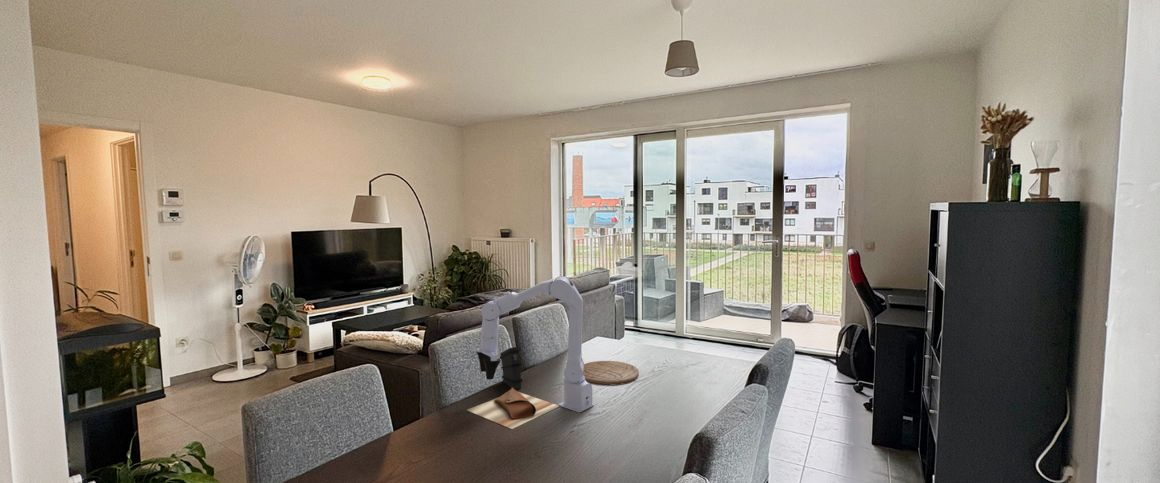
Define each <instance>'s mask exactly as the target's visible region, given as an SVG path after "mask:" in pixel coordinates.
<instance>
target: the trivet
mask: <svg viewBox="0 0 1160 483" xmlns="http://www.w3.org/2000/svg"><path fill="white" fill-rule="evenodd" d="M639 372H640V370H639V369H638V368H637V367H636V366H635V365H633V364H630V363H628V362H627V363H626V362H622V361H617V360H616V361H615V360H596V361H591V362H590V361H589V362H586V363H584V369H583V375H584V377H585V380H586V382H588V383H589V384H595V385H601V386H604V385H605V386H611V385H610V384H617V385H622V384H621V383H625V384H628V383H627V382H629V383H631V381H632V382H633V380H634V381H636V380H637V379H638V378H639V375H640V374H639ZM637 377H638V378H637ZM636 378H637V379H636Z"/></svg>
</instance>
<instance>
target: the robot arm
mask: <svg viewBox="0 0 1160 483" xmlns="http://www.w3.org/2000/svg"><path fill="white" fill-rule="evenodd" d="M540 295H544V296H549V297H550V296H553V298H555V299H558V300H560V301H562V302H564V304H566V305H567V306H568V307H569V308H568V333H567V334H568V336H567V337H568V338H567V339H568V340H567V341H568V342H567V360H566V363H565V368H564V370H563V401H562V402H560V403H558V406H560V407H562V408H565V409H568V410H571V411H573V412H577V413H581V412H583V411H585V410H587V409H589V408H591V407H594V402H593V387H592V383H590V382H586V380H585V377H584V375H583V369H584V364H585V362H584V361H583V353H582V346H583V345H582V342H583V316H584V315H583V313H584V312H583V309H584V307H583V305H584V299H583V297H582V296H581V294H580V292H579V291H578V289H577V287H576V285H575V284H574V282H573V281H572V280H570V279H569V277H567V276H564V275H560V276H557V277H554V278H551V279H547V280H544V281H542V282H540V283H537V284H535V285H533V286H531V287H529V288H527V289H524V290H522V291H521V292H515V291H511V292H510V291H507V292H505V295H501V296H499V297H494V298H493V299H492V300H490V301H488V302H486V303H485V304H484V305H483V306H482V307H481V308H480V309H481V310H480V314H481V316H482V322H481V332H480V333H481V335H480V347H478V348H476V354H477V357H478V360H479V368H480V372H481V373H484V372H485V376H486V377H485V378H486V380H493V379H494V378H495V374H496V371H497V369H498V366H499V365H500V363H501V362H502V360H501V359H500V358H498V351H499V350H498V349H499V348H498V341H499V328H500V315H504V314H506V313H509V312H511V311H514V310H516V309H518V308H519V309H520V307H521V304H522V303H523V302H525V301H527V300H530V299H532V298H535V297H538V296H540Z"/></svg>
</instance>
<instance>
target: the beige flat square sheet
mask: <svg viewBox="0 0 1160 483" xmlns="http://www.w3.org/2000/svg"><path fill="white" fill-rule="evenodd" d="M518 392H519V393H520V394H521V395H522V396H524V397H525V398H526V399H527V400H528V401H529V402H530V403H532V404H533V405H534V406H535V408H536V413H535V414H534V415H533V416H530V417H525V418H517V419H514V418H511V417H510V416H509V414H508V413H507V412H506V411H505V410H504V409H503V408H502V407H501V406H500V405H499V404H497V403H496V402H494V400H496V399H497V398H498V397H496V398H494V399H491V400H489V401H486V402H484V403H481V404H478V405H475V406H474V407H470V408H468V409H466V411H467V412H469V413H471V414H474V415H476V416H478V417H481V418H484V419H486V420H487V421H491V422H493V423H496V424H498V425H500V426H502V427H505V428H507V429H509V430H513V429H515V428H518V427H520V426H522V425H524V424H527V423H529V422H530V421H533V420H535V419H537V418H539V417H542V416H544V415H545V414H548V413H550V412H553V411H554V410H556V409H559V408H560V407H561V406H559V404H556V403H555V404H554V403H552V402H549V401H546V400H543V399H540V398H538V397H535V396H531V395H529V394H527V393H526V394H525V393H524V392H523V393H522V392H520V391H518Z"/></svg>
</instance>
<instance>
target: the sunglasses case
mask: <svg viewBox="0 0 1160 483" xmlns="http://www.w3.org/2000/svg"><path fill="white" fill-rule="evenodd" d="M519 392H520V391H517V389H516V390H515V389H514V388H510V389H508V391H506V392H505V393H503V394H502V395H501V396H499V397H496V398H497V399H496V398H495V399H496V400H494V402H496V403H497V404H499V405H500V406H501V407H502V408H503V409H504V410H505V411H506V412H507V413H508V414H509V416H510V417H511V418H514V419H517V418H525V417H530V416H533V415H534V414H535V413H536V408H535V406H534V405H533V404H532V403H530V402H529V401H528V400H527V399H526V398H525V397H524V396H522V395H521V394H520V393H521V392H520V393H519Z"/></svg>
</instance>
